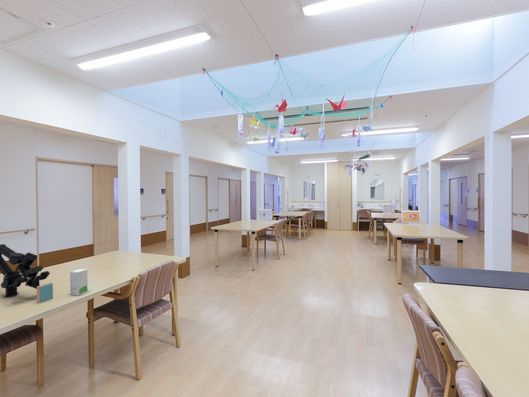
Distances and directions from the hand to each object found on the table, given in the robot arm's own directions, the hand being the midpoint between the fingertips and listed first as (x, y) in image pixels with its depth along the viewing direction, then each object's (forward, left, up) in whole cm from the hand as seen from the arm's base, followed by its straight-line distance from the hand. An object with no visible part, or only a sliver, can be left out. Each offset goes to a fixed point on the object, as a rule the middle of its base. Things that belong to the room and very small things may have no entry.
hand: (39, 288), depth 171 cm
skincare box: (+1, +21, -7) cm, 22 cm away
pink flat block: (+4, +3, -7) cm, 9 cm away
